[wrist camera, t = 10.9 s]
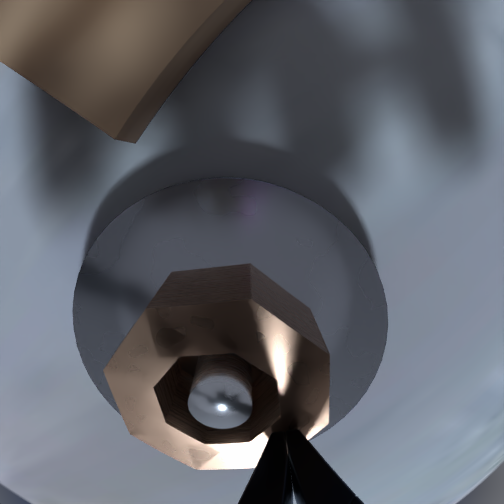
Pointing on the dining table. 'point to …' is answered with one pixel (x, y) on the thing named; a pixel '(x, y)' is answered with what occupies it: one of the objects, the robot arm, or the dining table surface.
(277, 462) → the robot arm
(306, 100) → the dining table surface
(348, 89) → the dining table surface
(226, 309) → the octagonal wooden ring
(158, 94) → the stand
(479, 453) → the dining table surface
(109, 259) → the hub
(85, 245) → the dining table surface
